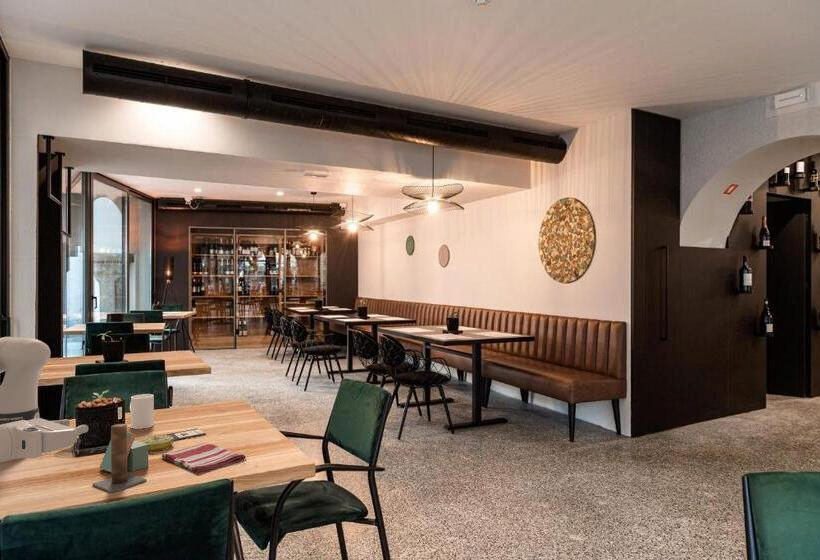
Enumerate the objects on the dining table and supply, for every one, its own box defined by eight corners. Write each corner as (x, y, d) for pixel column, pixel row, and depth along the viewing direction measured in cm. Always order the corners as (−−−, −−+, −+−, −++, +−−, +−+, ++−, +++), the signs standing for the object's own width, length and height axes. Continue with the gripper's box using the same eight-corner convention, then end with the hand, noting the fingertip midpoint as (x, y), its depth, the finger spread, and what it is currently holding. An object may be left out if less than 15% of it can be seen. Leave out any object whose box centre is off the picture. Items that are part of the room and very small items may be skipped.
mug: (121, 426, 212) (121, 396, 212) (142, 421, 220) (142, 392, 220) (138, 430, 206) (137, 399, 206) (159, 425, 213) (158, 395, 213)
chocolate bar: (147, 437, 194) (197, 428, 206) (147, 440, 194) (197, 430, 206) (154, 443, 188) (205, 433, 200) (154, 446, 188) (205, 436, 200)
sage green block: (132, 471, 162) (132, 448, 162) (113, 465, 168) (112, 442, 168) (148, 466, 166) (148, 444, 166) (128, 460, 172) (128, 438, 172)
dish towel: (197, 476, 159) (197, 467, 159) (159, 460, 174) (159, 451, 174) (246, 461, 172) (246, 452, 172) (207, 446, 187) (207, 439, 187)
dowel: (109, 484, 150) (108, 428, 150) (114, 479, 154) (114, 424, 154) (124, 483, 151) (124, 427, 151) (129, 478, 155) (129, 423, 155)
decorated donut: (172, 441, 192) (172, 431, 192) (174, 450, 182) (174, 439, 182) (140, 446, 187) (140, 435, 187) (140, 455, 178) (140, 443, 178)
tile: (114, 473, 158) (130, 432, 162) (98, 468, 163) (114, 428, 167) (120, 474, 160) (136, 434, 164) (104, 469, 165) (120, 429, 169)
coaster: (111, 493, 146) (111, 491, 146) (92, 485, 151) (92, 483, 151) (146, 481, 154) (146, 479, 154) (127, 474, 160) (127, 472, 160)
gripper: (-1, 444, 136) (58, 430, 148) (37, 459, 125) (97, 443, 137) (-2, 420, 136) (57, 408, 148) (37, 433, 125) (97, 419, 137)
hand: (77, 425), depth 142 cm, fingers open, 8 cm apart
